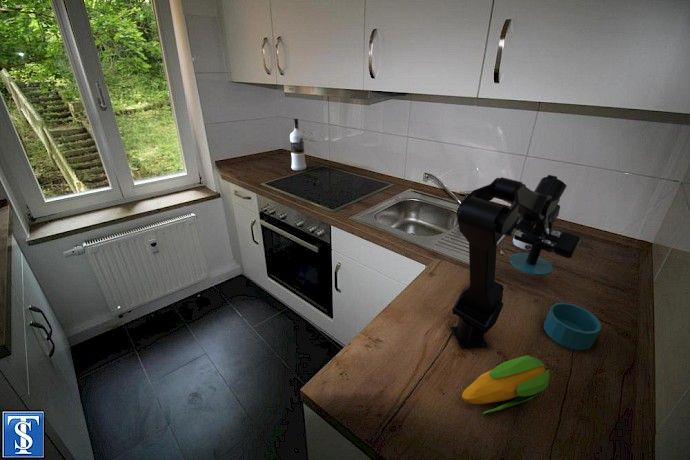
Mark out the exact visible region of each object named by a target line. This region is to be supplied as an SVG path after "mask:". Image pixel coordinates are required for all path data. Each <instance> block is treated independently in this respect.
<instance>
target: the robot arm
mask: <svg viewBox="0 0 690 460" xmlns="http://www.w3.org/2000/svg"><path fill="white" fill-rule="evenodd" d="M566 188H567V184H566V183H565V182H564V181H563V180H561V179H559V178H558V176H557V175H552V174H547V176H544V177H541V179H540V181H539V182H538V184H537V185H536V187H535V189H534V190H532V189H530V188H528V187H527V186H526V183H523V182H522V181H519V180H515V179H511V178H507V177H504V176H503V177H502V176H501V177H496V178H495V179H494V180H492V181H491V182H490V183H489V184H487V185H483V186H481V187H478V188H476V189H474V190H472V191H471V192H470V193H469V194H468V195H467V196H466V197H465V198H464V199H463V200H462V201H461V203H460V204H459V205H458V207H457V210H456V219H457V226H458V229H459V232H460V234H461V235H462V236H463V238H465V240H466V241H467V242H468V262H469V263H468V265H469V267H468V269H469V283H468V284H467V285H466V286H464V288H462V289H461V291H460V293H459V296H458V297H457V299H456V301H455V303H454V305H453V306H452V309H451V311H452V312H451V313H452V315H456V316H457V317H458V321H457V325H456V326H451V327H450V331H451V332H452V334H453V336H454V338H455V340H456V342H457V344H458V345H459V347H460V348H461V350H462V349H463V350H464V349H477V348H487V347H488V342H487V341H486V339H485V334H487V333H488V332H489V331H490V330H491V329H492V328H493V327H494V326H495V325H496V323H497V321H498V319H499V316H500V314H501V312H502V309H503V308H504V302H503V297H504V286H503V284H501V283H499V282H497V281H496V280H495V277H496V264H497V250H498V247H497V246H498V243H499V241H500V240H501V239H502V237H503V236H505V237H512V233H513V231H514V230H515V231H514V233H513V238H514V239H515V240H518V241H521V242H523V243H527V244H530V245H532V243H533V242H535V243H537V244H540V245H541V243H542V242H543V243H542V245H541V246H540V249H541V251H545V252H548V253H552V252H553V253H554V254H555V255H558V256H560V257H563V258H565V259H571V258H573V256H574V254H575V252H576V250H577V249H578V247H579V245H580V244H581V241H582V237H581V234H577V233H574V232H571V231H569V230H564V231H563V232H561V231H559V230H555V229H554V227H555V225H554V224H555V222H556V219H557V218H558V216H559V215H560V209H561V205H560V204H559V203H560V201H561V197H562V196H563V194H564V192H565V191H566ZM493 199H498V200H501V201H503V202H505V203H507V204H510V207H508V206H506V205H502V204H500V203H496V202H493V201H492V200H493ZM518 214H519V215H518ZM518 221H519V222H518ZM514 235H515V236H514Z"/></svg>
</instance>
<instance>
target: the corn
mask: <svg viewBox="0 0 690 460" xmlns="http://www.w3.org/2000/svg"><path fill="white" fill-rule="evenodd" d="M549 382H550V372H549V368H547V367H546V365H545V364H544V363H543V362H542V361H541V360H540V359H538V358H536V357H534V356H531V355H529V354H527V355H523V356H520V357H519V356H518V357H516V358H512V359H509V360H506V361H504V362H501V363H500V364H498V365H496V366H495V367H494V368H493V369H491V370H488V371H486V372H484V373H482V374H481V375H479V376H478V377H477V378H476V379H475V380H474V381H473V382H472V383H471V384H470V385H469V386H467V387H466V388H465V389H464V390H463V392H462V395H461V398H462V399H463V401H464V402H465V403H467V404H468V403H469V404H472V405H485V404H486V405H487V404H491V403H492V404H493V403H497V402H498V403H499V402H504V401H508V402H506V403H504V404H501V405H499V406H497V407H494V408H491V409H488V410H485V411H483V415H485V414H490V413H494V412H498V411H502V410H505V409H508V408H511V407H513V406H516V405H519V404H522V403H525V402H529V401H531V400H533V399H534V398H536V397H537V396H538V395H540V394H541V393H542V392H543V391H545V390H546V389H547V387H548V386H549V384H550V383H549ZM511 399H512V400H511ZM509 400H511V401H509Z"/></svg>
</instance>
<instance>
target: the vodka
mask: <svg viewBox="0 0 690 460" xmlns="http://www.w3.org/2000/svg"><path fill="white" fill-rule="evenodd" d="M289 142H290V151H291V152H290V155H291V165H290V166H291V170H293V171H296V172H300V171H301V172H302V171H304V170H306V169H307V163H306V152H305V134H304V133H303V132H302V131H301V130H300V129H299V119H298V118H293V131H292V132H291V133H290V134H289Z"/></svg>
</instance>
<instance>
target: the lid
mask: <svg viewBox="0 0 690 460" xmlns="http://www.w3.org/2000/svg"><path fill="white" fill-rule="evenodd" d="M542 243H543V242H542ZM542 243H541V245H542ZM541 245H540V244H537V243H535V242H533V243H532V246H531V249H530V250H529V252H516V253H513V254H511V255H510V257H509V262H510V265H512V266H513V267H514V268H515V269H516V270H518V271H520V272H523V273H525V274H528V275H531V276H539V277H543V276H544V277H545V276H549V275H551V274H552V273H553V270H554V267H553V265H552V263H551V262H550V261H549V260H547V259H545V258H543V257H541V256H540V255H541V252H542V249H540V246H541Z"/></svg>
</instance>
